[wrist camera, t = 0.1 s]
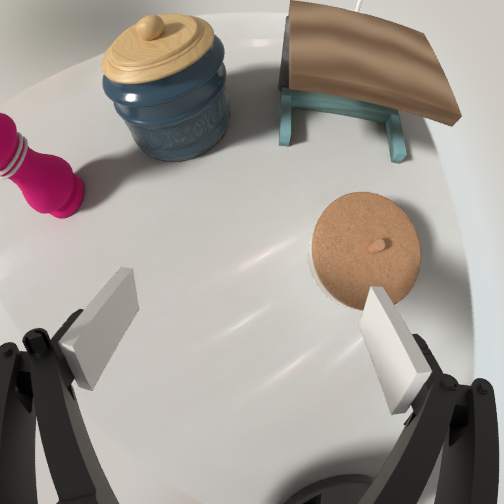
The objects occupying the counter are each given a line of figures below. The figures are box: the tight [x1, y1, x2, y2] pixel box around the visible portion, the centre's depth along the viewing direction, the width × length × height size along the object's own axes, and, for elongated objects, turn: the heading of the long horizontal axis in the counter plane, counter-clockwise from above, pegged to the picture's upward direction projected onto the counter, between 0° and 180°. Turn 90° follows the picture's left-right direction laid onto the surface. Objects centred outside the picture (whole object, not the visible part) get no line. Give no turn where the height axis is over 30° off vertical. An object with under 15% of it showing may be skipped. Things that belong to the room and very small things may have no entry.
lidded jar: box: [308, 192, 421, 310], centre depth 27 cm, size 11×11×9 cm
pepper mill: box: [0, 113, 84, 219], centre depth 23 cm, size 7×7×20 cm
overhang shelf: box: [278, 0, 462, 163], centre depth 28 cm, size 14×17×14 cm
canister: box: [102, 14, 230, 162], centre depth 26 cm, size 13×13×18 cm
